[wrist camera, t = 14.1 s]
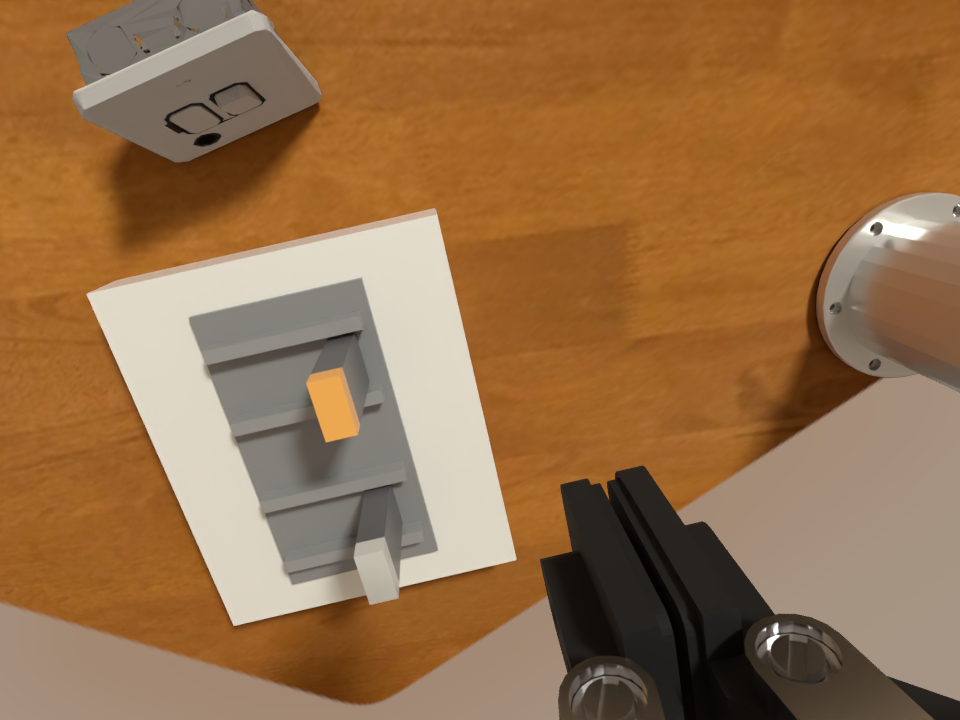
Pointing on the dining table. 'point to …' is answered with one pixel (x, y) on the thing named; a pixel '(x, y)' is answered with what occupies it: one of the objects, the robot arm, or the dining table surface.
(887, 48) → the dining table surface
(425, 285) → the lever base
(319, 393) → the toggle
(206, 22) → the electrical switch
